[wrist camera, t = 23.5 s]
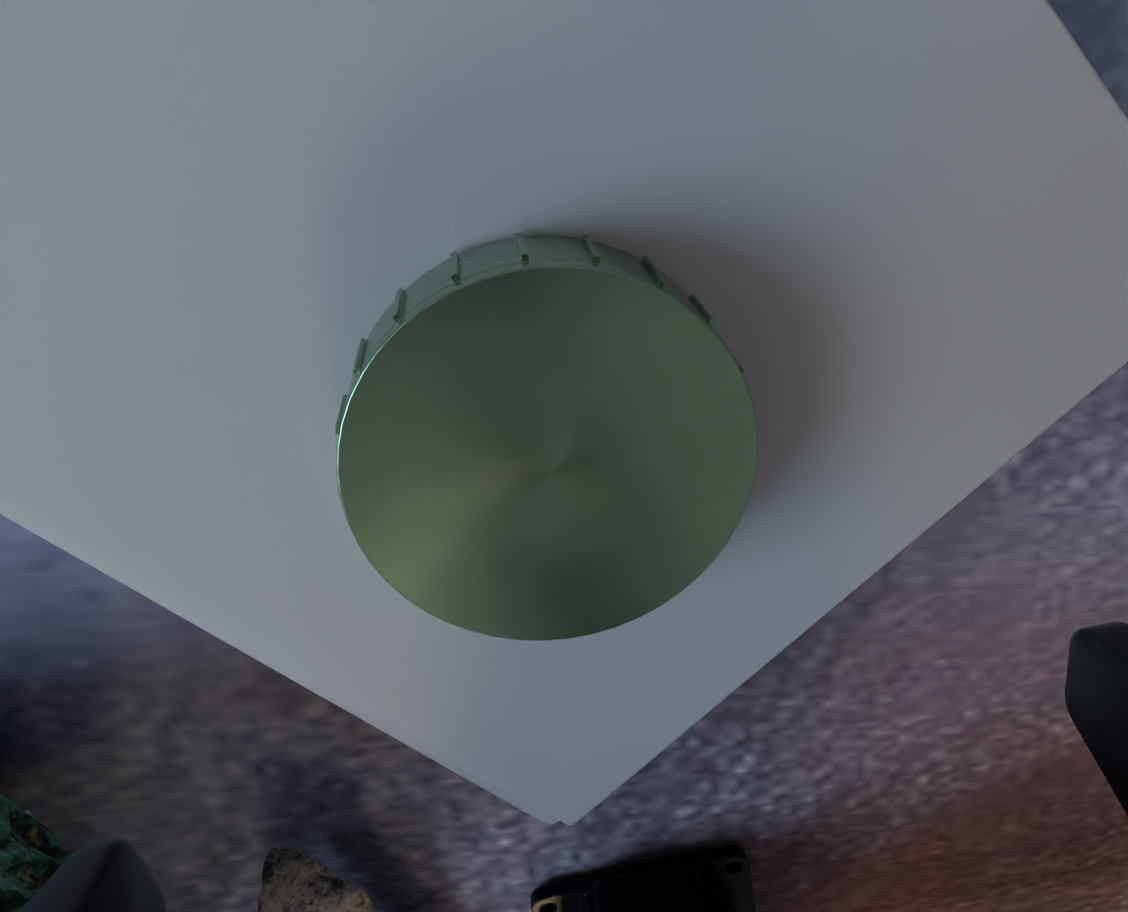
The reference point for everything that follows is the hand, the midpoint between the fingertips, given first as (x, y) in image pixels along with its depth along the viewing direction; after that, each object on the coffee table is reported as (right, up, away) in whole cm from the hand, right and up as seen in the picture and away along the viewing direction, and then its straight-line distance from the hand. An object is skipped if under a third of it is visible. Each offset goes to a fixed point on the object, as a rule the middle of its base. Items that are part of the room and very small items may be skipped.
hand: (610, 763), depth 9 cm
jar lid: (-1, +3, +6) cm, 7 cm away
